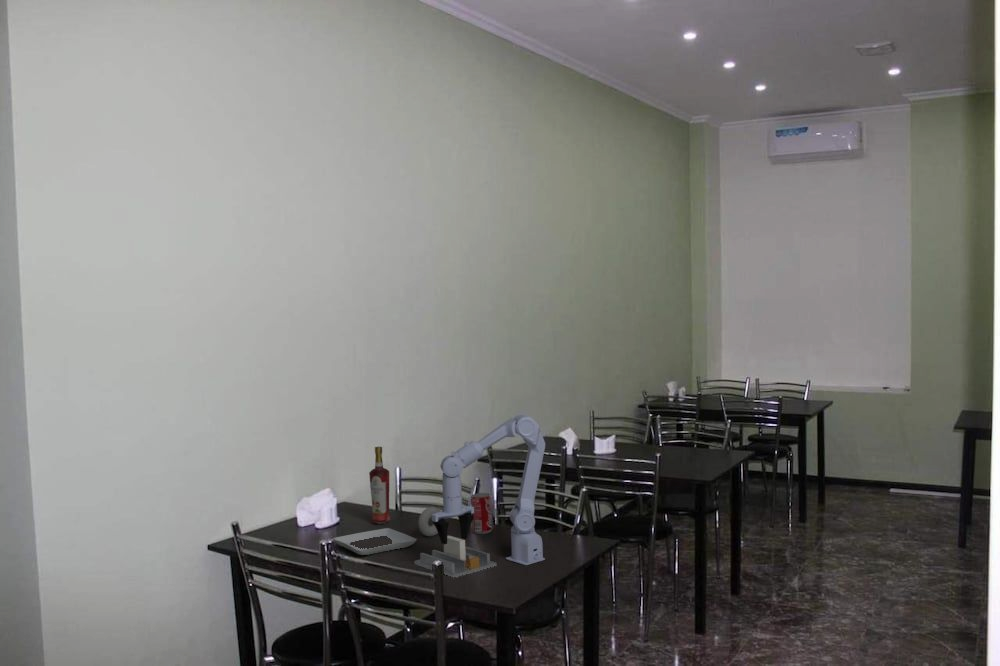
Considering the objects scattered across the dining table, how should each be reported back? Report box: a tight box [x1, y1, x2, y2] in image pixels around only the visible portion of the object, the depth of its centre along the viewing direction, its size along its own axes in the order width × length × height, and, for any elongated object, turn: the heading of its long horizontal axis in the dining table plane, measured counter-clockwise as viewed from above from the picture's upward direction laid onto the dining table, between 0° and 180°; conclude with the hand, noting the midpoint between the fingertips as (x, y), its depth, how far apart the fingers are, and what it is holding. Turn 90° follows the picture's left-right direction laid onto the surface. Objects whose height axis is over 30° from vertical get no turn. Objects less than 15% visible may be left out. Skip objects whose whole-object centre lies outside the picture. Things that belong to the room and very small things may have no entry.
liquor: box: [368, 446, 391, 522], centre depth 313 cm, size 7×7×28 cm
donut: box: [417, 506, 442, 537], centre depth 292 cm, size 10×4×10 cm, turn 129°
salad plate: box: [332, 527, 417, 556], centre depth 281 cm, size 21×21×3 cm
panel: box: [443, 535, 466, 560], centre depth 257 cm, size 8×2×7 cm, turn 40°
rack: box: [413, 545, 497, 579], centre depth 257 cm, size 20×16×4 cm
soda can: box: [470, 492, 493, 535], centre depth 295 cm, size 7×7×13 cm
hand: (454, 540), depth 257 cm, fingers open, 7 cm apart
